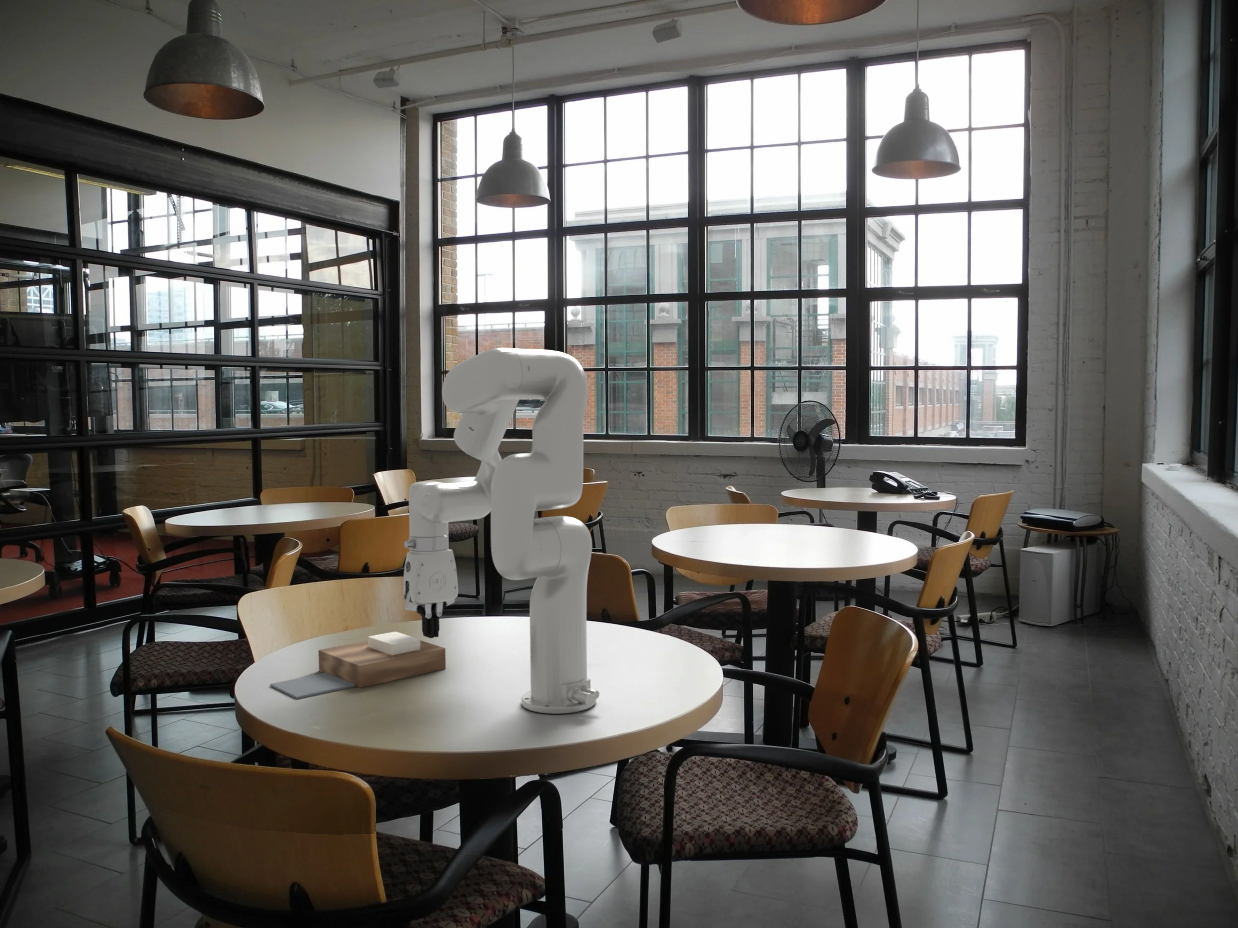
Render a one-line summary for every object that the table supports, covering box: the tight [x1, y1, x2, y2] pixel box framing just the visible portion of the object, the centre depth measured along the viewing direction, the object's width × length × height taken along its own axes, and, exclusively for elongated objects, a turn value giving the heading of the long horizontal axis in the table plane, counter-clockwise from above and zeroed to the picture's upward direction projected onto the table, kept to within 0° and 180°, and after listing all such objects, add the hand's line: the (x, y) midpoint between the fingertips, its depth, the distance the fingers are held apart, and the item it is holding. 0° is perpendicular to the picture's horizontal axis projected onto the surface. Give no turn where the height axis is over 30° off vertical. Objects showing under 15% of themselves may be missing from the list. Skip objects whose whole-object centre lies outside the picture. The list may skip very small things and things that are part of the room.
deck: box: [318, 639, 447, 689], centre depth 180 cm, size 16×18×4 cm
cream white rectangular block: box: [367, 631, 421, 655], centre depth 181 cm, size 9×6×2 cm, turn 43°
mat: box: [269, 672, 356, 700], centre depth 169 cm, size 11×11×1 cm
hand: (430, 636), depth 186 cm, fingers closed
